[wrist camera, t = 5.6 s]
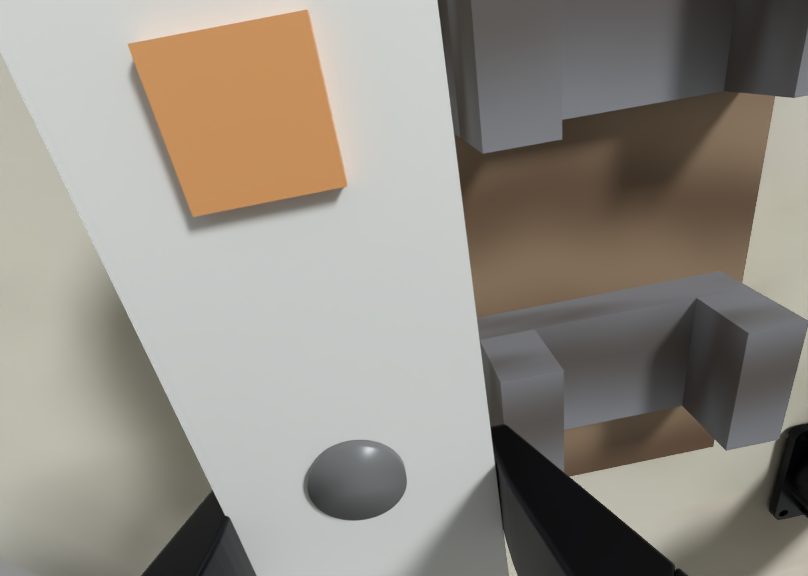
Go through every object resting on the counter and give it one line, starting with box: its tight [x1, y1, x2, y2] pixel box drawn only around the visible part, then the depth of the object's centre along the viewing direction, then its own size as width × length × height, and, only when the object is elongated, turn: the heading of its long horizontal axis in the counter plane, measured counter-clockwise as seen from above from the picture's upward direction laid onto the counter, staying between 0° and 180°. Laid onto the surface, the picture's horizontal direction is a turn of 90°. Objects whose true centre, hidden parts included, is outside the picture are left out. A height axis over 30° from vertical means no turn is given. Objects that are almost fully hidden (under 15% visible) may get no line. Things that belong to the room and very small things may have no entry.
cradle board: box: [437, 0, 808, 476], centre depth 16 cm, size 26×12×5 cm, turn 9°
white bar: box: [0, 0, 509, 576], centre depth 9 cm, size 18×4×3 cm, turn 10°
